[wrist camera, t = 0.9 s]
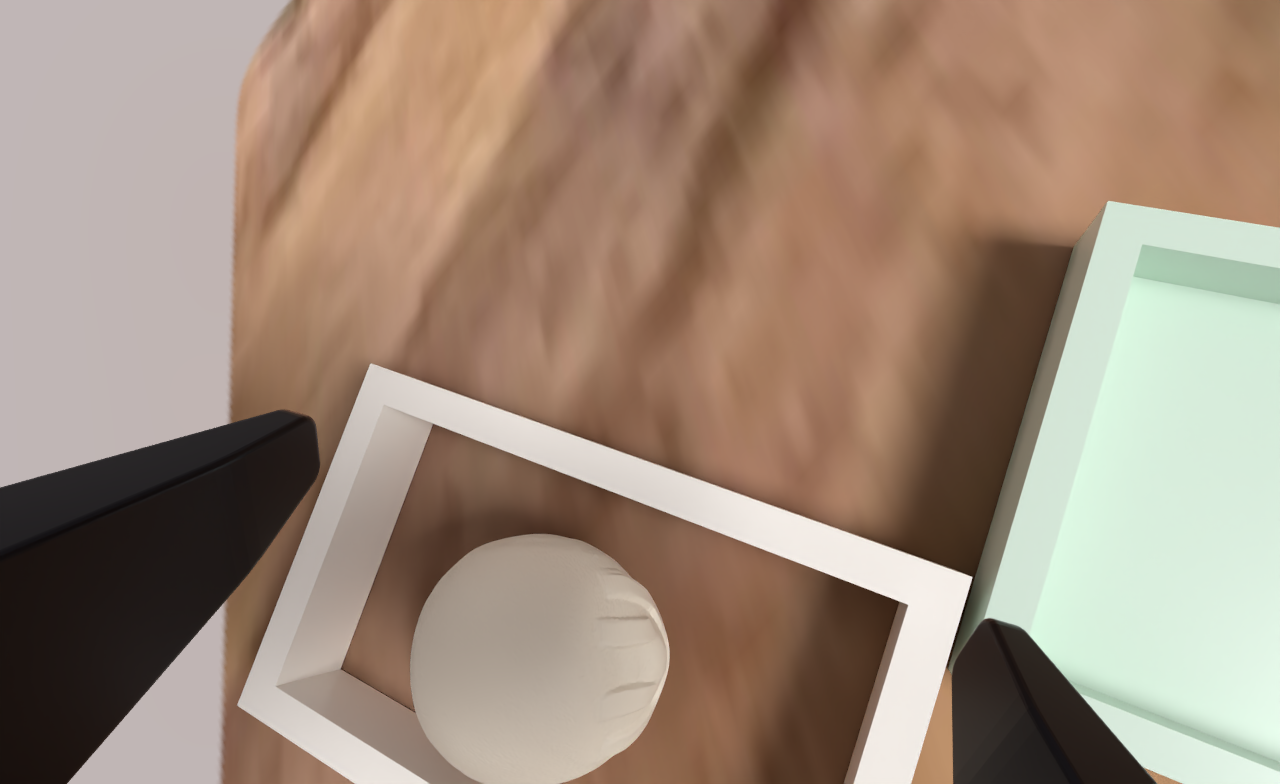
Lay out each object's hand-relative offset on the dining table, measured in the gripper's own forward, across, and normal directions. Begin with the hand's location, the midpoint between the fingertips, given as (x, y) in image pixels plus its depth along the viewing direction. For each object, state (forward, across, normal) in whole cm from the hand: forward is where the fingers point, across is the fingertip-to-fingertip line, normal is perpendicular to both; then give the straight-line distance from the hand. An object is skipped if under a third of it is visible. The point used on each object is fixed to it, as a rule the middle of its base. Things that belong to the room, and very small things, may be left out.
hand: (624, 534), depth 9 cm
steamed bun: (+8, +1, +13) cm, 15 cm away
